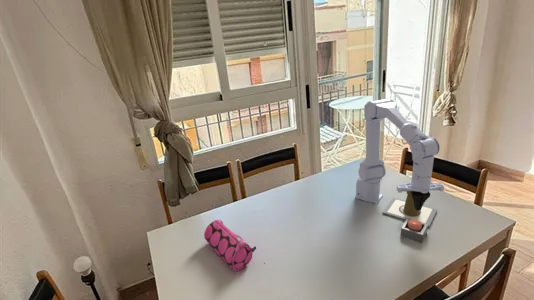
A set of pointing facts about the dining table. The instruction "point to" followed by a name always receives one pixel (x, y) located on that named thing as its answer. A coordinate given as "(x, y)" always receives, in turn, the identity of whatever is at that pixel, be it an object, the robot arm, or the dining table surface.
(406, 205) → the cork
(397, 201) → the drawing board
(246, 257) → the pencil case
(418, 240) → the button base
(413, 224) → the button
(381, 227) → the dining table surface
